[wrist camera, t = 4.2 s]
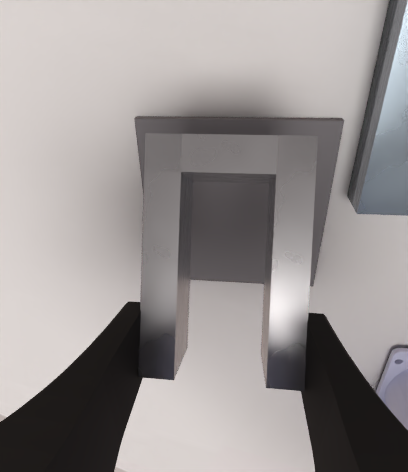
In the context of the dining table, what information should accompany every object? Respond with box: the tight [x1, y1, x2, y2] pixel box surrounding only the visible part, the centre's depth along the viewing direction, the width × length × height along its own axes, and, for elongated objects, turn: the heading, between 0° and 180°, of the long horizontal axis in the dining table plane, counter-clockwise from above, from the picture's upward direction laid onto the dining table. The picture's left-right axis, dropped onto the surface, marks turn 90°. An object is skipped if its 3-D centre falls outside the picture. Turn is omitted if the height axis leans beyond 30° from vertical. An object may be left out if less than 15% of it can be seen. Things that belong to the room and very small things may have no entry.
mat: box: [135, 117, 344, 286], centre depth 20 cm, size 10×10×1 cm
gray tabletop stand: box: [138, 133, 318, 391], centre depth 13 cm, size 8×5×3 cm
